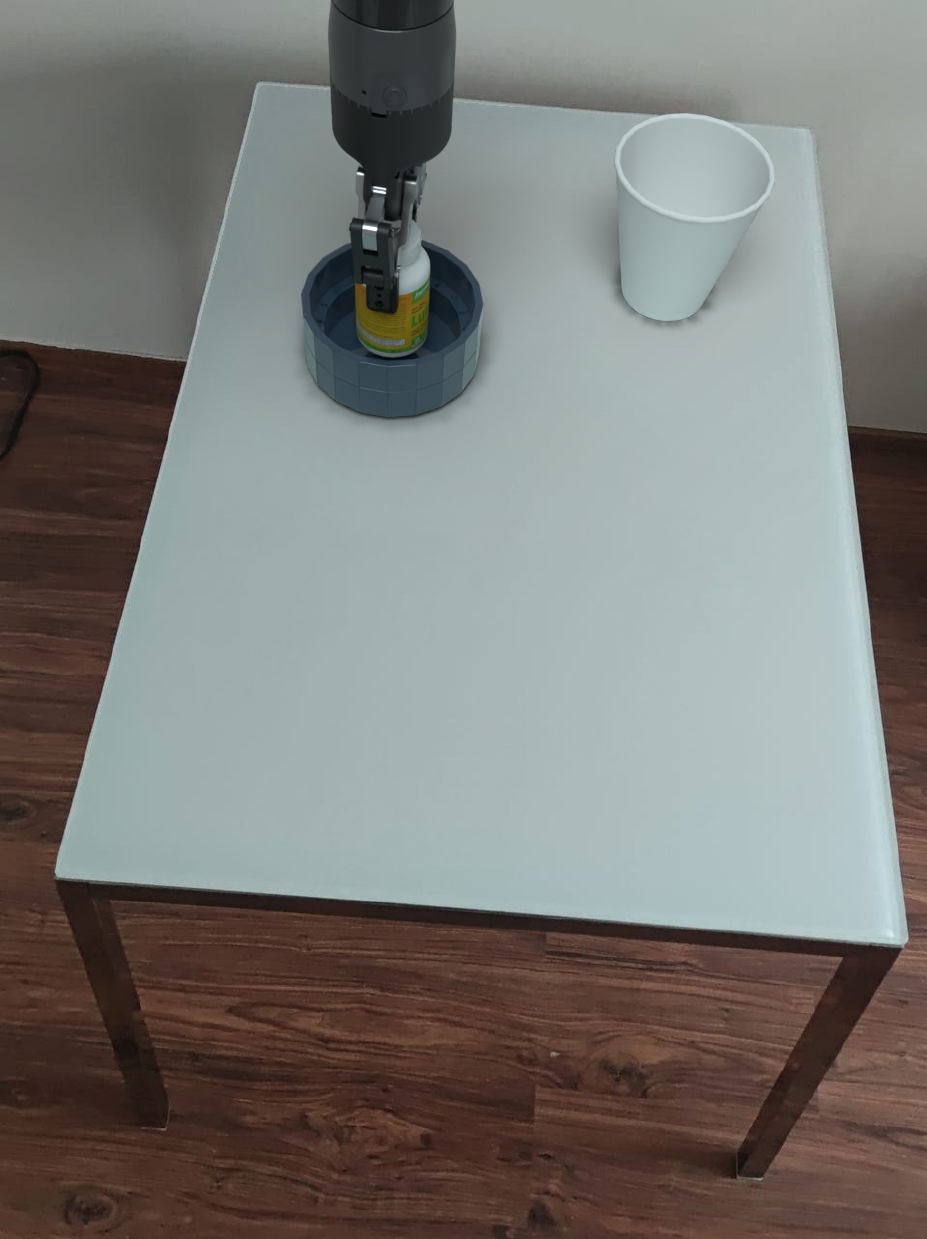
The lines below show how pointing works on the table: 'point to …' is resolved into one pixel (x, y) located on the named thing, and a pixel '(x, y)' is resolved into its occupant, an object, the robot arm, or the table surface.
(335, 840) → the table surface
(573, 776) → the table surface
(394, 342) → the supplement bottle
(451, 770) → the table surface
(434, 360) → the bowl
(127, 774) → the table surface
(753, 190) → the cup
